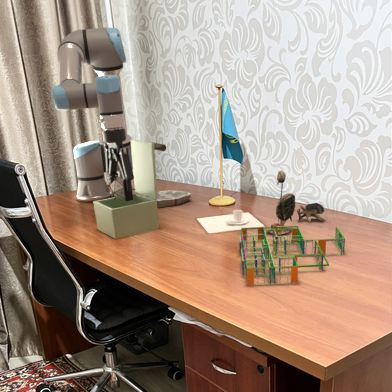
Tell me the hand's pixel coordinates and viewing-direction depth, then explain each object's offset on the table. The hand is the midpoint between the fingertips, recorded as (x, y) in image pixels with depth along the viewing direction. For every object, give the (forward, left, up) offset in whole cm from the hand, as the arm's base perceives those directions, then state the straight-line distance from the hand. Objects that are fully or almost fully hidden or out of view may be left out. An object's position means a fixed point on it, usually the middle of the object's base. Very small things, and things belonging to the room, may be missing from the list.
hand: (122, 197), depth 179 cm
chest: (0, +1, -11) cm, 11 cm away
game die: (0, 0, -1) cm, 1 cm away
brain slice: (-24, +30, -11) cm, 40 cm away
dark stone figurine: (+40, +38, -11) cm, 56 cm away
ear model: (+19, +32, -11) cm, 39 cm away
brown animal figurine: (+38, +53, -11) cm, 66 cm away
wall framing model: (+63, +23, -11) cm, 68 cm away
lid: (0, +9, +8) cm, 12 cm away
